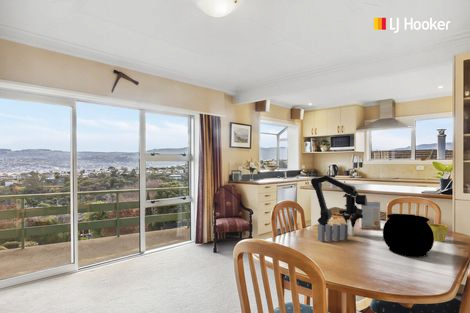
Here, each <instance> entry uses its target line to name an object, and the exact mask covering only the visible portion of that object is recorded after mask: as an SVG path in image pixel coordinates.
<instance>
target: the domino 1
mask: <svg viewBox="0 0 470 313" xmlns="http://www.w3.org/2000/svg"><path fill="white" fill-rule="evenodd" d="M317 241H318V242H321V243H326V242H325V241H326V240H325V226H323V225H319V224H317Z"/></svg>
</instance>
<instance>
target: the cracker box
mask: <svg viewBox="0 0 470 313" xmlns="http://www.w3.org/2000/svg"><path fill="white" fill-rule="evenodd" d="M358 208H359V209H361V210H363V211H362V215H363V218H359V219H358V223H359V224H358V227H359V228H360V229H361V230H381V201H378V200H367V205H359V204H358Z"/></svg>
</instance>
